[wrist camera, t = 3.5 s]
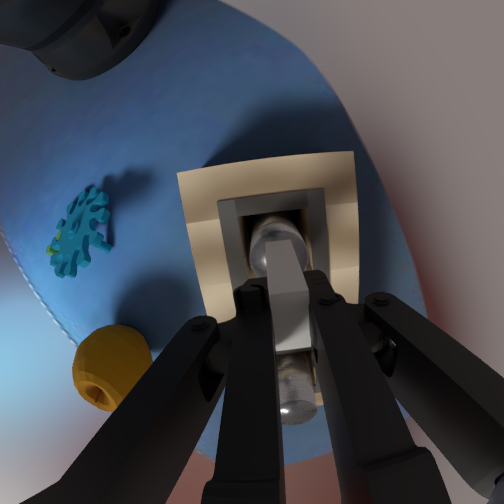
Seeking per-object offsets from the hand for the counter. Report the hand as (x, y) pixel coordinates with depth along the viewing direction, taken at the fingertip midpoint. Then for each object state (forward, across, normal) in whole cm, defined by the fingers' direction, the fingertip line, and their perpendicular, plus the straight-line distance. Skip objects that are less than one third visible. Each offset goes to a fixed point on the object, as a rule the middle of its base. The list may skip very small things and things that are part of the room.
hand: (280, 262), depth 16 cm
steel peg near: (+8, 0, 0) cm, 8 cm away
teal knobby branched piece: (+11, -20, +3) cm, 23 cm away
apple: (+11, -20, -13) cm, 26 cm away
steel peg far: (+6, 0, -12) cm, 13 cm away
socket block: (+11, 0, -6) cm, 12 cm away
